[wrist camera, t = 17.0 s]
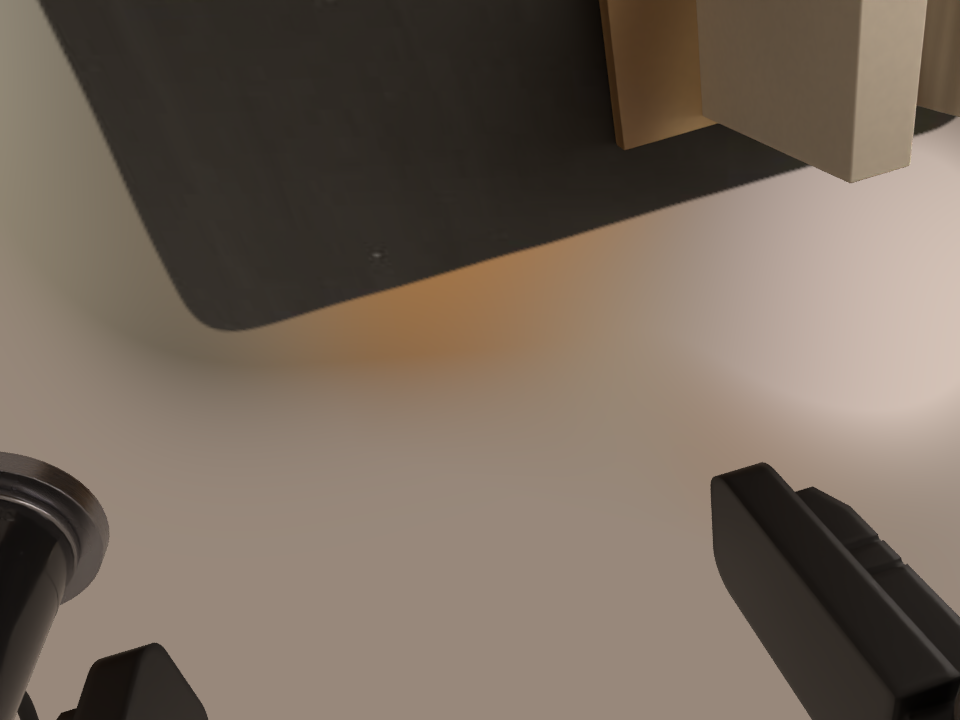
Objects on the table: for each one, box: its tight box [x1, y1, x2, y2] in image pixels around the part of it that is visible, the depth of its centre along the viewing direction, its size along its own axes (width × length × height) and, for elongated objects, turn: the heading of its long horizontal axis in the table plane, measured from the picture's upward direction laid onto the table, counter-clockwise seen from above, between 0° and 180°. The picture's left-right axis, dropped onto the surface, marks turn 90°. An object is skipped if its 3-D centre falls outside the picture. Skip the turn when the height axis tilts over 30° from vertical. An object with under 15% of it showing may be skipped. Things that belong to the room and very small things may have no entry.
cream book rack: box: [599, 0, 960, 150], centre depth 29 cm, size 18×10×13 cm, turn 103°
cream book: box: [696, 0, 927, 183], centre depth 29 cm, size 2×9×12 cm, turn 13°
